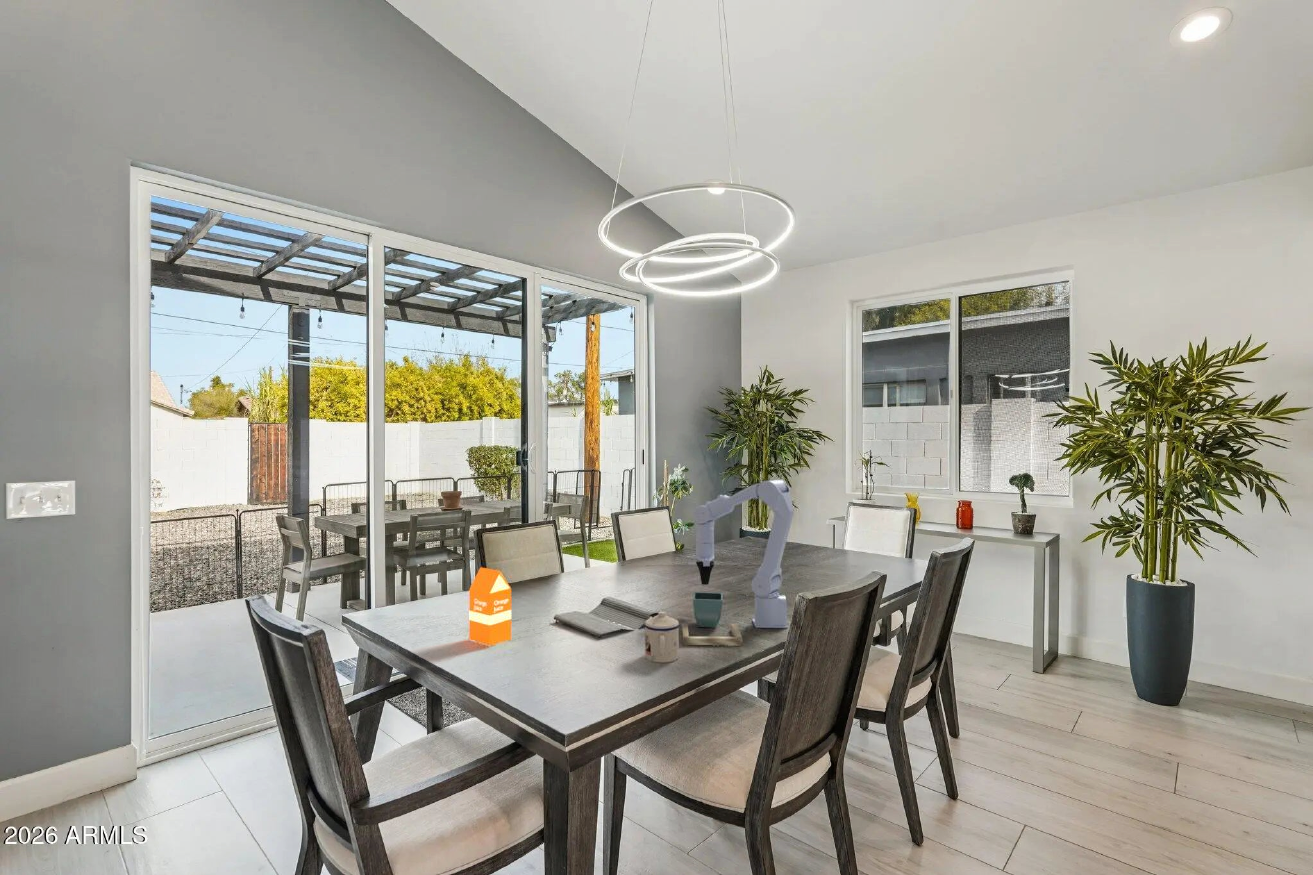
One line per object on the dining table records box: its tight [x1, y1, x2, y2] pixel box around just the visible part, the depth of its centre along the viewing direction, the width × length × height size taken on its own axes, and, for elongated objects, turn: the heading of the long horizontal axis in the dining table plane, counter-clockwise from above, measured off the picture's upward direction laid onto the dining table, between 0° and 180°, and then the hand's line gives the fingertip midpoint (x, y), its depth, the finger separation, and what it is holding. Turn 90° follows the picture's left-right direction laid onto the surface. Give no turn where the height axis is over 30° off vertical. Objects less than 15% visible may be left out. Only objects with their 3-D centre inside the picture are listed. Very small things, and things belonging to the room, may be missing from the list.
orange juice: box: [468, 567, 512, 645], centre depth 173 cm, size 8×9×20 cm
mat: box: [553, 596, 658, 640], centre depth 190 cm, size 23×24×5 cm
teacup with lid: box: [643, 611, 680, 664], centre depth 159 cm, size 12×9×12 cm
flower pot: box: [692, 591, 724, 629], centre depth 188 cm, size 9×9×9 cm
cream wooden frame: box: [681, 623, 743, 647], centre depth 176 cm, size 16×14×2 cm
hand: (704, 584), depth 201 cm, fingers closed
